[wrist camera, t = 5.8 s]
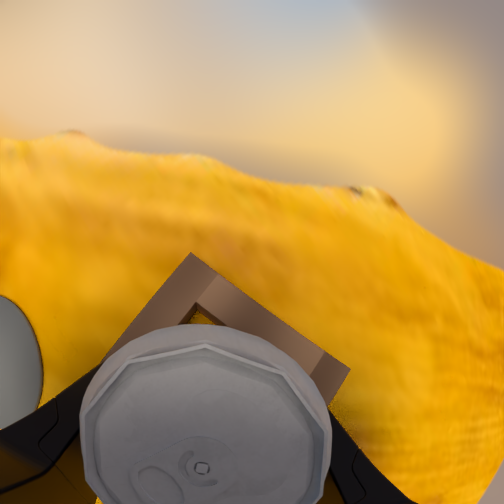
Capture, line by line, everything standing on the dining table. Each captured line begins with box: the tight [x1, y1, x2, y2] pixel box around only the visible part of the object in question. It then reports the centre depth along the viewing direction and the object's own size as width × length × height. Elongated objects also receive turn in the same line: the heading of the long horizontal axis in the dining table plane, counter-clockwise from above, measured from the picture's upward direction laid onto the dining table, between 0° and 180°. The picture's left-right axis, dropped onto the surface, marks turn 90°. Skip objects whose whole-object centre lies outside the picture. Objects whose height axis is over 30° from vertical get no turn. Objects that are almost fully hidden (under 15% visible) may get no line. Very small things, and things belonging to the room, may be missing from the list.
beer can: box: [79, 324, 332, 504], centre depth 9 cm, size 5×5×12 cm
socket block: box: [100, 252, 351, 406], centre depth 13 cm, size 10×10×2 cm
